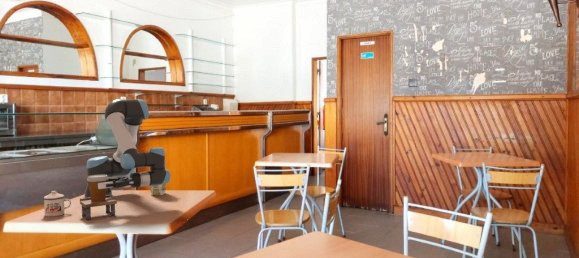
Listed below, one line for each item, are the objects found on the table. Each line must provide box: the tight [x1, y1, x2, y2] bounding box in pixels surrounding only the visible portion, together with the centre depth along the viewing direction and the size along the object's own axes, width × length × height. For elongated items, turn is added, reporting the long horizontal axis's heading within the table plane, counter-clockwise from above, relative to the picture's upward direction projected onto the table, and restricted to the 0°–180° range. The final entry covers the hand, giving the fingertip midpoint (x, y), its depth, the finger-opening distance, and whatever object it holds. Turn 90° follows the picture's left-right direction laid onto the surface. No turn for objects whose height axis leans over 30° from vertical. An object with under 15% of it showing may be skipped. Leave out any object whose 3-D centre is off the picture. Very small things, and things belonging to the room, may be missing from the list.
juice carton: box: [149, 163, 167, 196], centre depth 262 cm, size 9×8×24 cm
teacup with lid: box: [43, 190, 72, 217], centre depth 214 cm, size 12×9×12 cm
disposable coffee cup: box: [86, 175, 108, 202], centre depth 209 cm, size 10×10×12 cm
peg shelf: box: [79, 195, 118, 221], centre depth 210 cm, size 12×14×8 cm
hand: (94, 184), depth 209 cm, fingers open, 13 cm apart
